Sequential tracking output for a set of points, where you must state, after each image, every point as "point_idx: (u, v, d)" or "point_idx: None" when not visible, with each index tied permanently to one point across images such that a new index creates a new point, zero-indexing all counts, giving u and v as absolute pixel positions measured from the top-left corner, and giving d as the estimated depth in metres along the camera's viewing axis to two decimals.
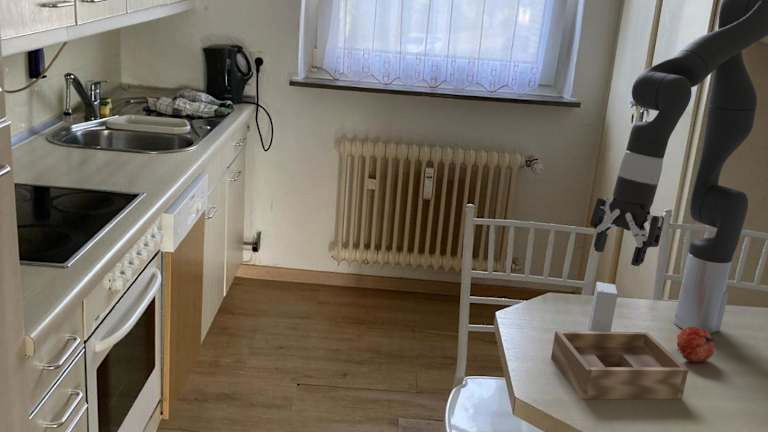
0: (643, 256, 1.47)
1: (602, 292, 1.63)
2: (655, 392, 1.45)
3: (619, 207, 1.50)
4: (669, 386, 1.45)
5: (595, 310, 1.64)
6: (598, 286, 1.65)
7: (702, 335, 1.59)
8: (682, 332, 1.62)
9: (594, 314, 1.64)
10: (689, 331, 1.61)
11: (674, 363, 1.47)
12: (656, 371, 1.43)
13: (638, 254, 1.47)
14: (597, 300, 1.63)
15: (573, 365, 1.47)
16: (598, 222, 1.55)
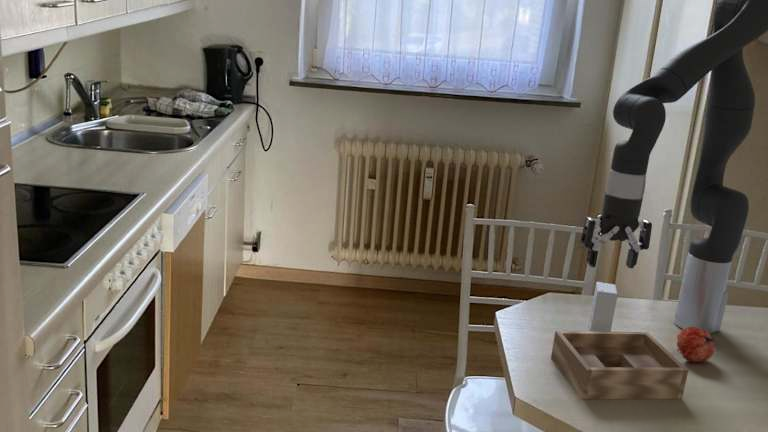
0: None
1: (602, 292, 1.63)
2: (655, 392, 1.45)
3: (614, 223, 1.59)
4: (669, 386, 1.45)
5: (595, 310, 1.64)
6: (598, 286, 1.65)
7: (702, 335, 1.59)
8: (682, 332, 1.62)
9: (594, 314, 1.64)
10: (689, 331, 1.61)
11: (674, 363, 1.47)
12: (656, 371, 1.43)
13: (635, 257, 1.63)
14: (597, 300, 1.63)
15: (573, 365, 1.47)
16: None
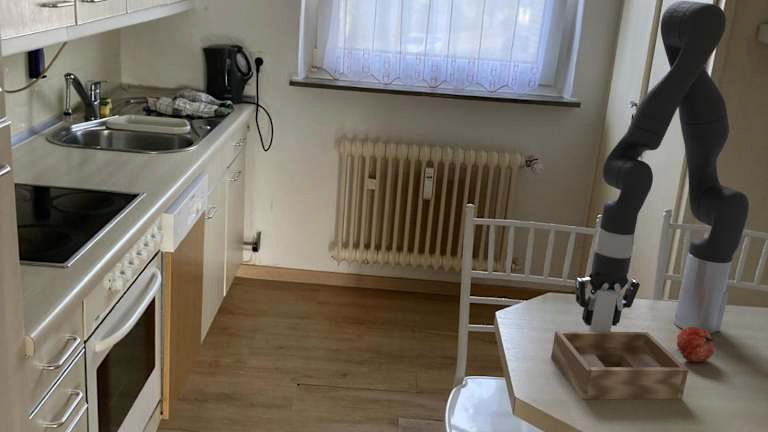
0: None
1: (601, 292, 1.63)
2: (655, 392, 1.45)
3: (603, 280, 1.63)
4: (669, 386, 1.45)
5: (595, 310, 1.64)
6: None
7: (702, 335, 1.59)
8: (682, 332, 1.62)
9: (594, 314, 1.64)
10: (689, 331, 1.61)
11: (674, 363, 1.47)
12: (656, 371, 1.43)
13: (618, 315, 1.67)
14: (597, 300, 1.63)
15: (573, 365, 1.47)
16: None
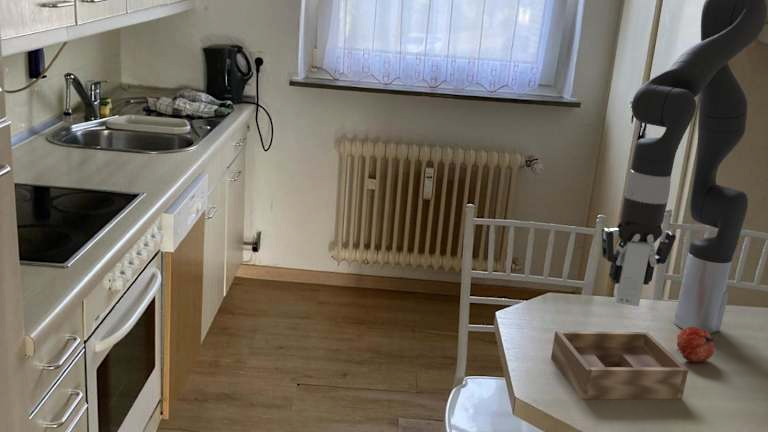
0: None
1: (632, 244, 1.42)
2: (655, 392, 1.45)
3: (634, 231, 1.42)
4: (669, 386, 1.45)
5: (624, 265, 1.43)
6: None
7: (702, 335, 1.59)
8: (682, 332, 1.62)
9: (623, 270, 1.43)
10: (689, 331, 1.61)
11: (674, 363, 1.47)
12: (656, 371, 1.43)
13: (650, 273, 1.46)
14: (627, 253, 1.42)
15: (573, 365, 1.47)
16: None
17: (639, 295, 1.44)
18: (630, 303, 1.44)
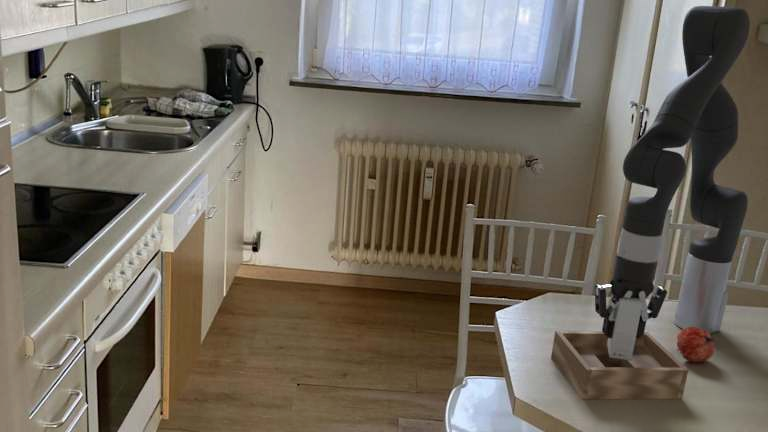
0: None
1: (624, 301, 1.44)
2: (655, 392, 1.45)
3: (626, 287, 1.45)
4: (669, 386, 1.45)
5: (617, 321, 1.46)
6: None
7: (702, 335, 1.59)
8: (682, 332, 1.62)
9: (616, 325, 1.46)
10: (689, 331, 1.61)
11: (674, 363, 1.47)
12: (656, 371, 1.43)
13: (642, 327, 1.48)
14: (619, 310, 1.45)
15: (573, 365, 1.47)
16: None
17: (632, 350, 1.47)
18: (623, 357, 1.47)
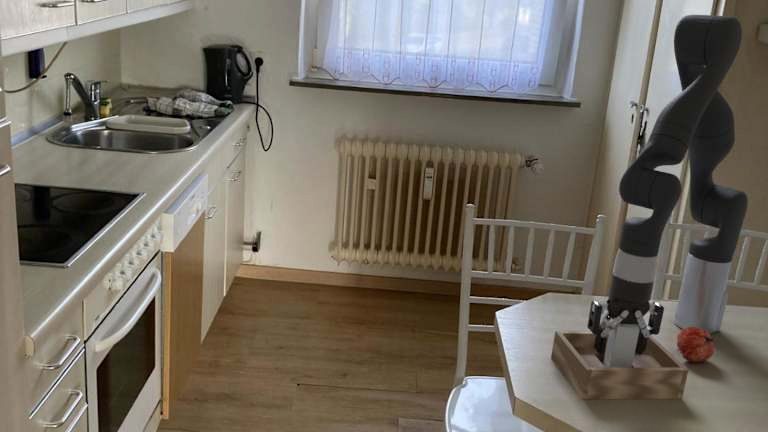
0: None
1: (622, 328, 1.46)
2: (655, 392, 1.45)
3: (622, 307, 1.46)
4: (669, 386, 1.45)
5: (614, 347, 1.47)
6: None
7: (702, 335, 1.59)
8: (682, 332, 1.62)
9: (613, 352, 1.47)
10: (689, 331, 1.61)
11: (674, 363, 1.47)
12: (656, 371, 1.43)
13: (644, 343, 1.50)
14: (617, 336, 1.46)
15: (573, 365, 1.47)
16: None
17: None
18: None
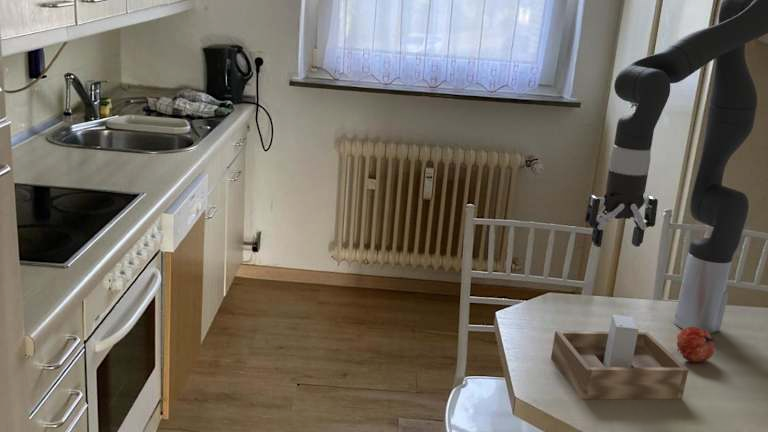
0: None
1: (621, 328, 1.46)
2: (655, 392, 1.45)
3: (618, 201, 1.55)
4: (669, 386, 1.45)
5: (614, 347, 1.47)
6: (616, 320, 1.49)
7: (702, 335, 1.59)
8: (682, 332, 1.62)
9: (612, 352, 1.47)
10: (689, 331, 1.61)
11: (674, 363, 1.47)
12: (656, 371, 1.43)
13: (641, 235, 1.59)
14: (616, 336, 1.46)
15: (573, 365, 1.47)
16: None
17: None
18: None
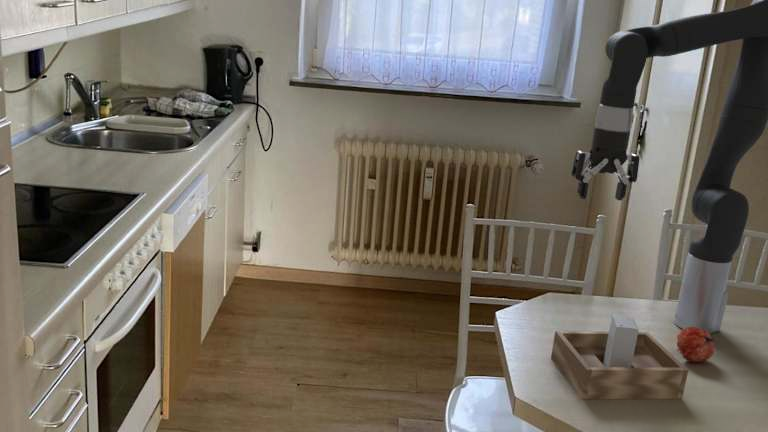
0: None
1: (621, 328, 1.46)
2: (655, 392, 1.45)
3: (603, 156, 1.68)
4: (669, 386, 1.45)
5: (614, 347, 1.47)
6: (616, 320, 1.49)
7: (702, 335, 1.59)
8: (682, 332, 1.62)
9: (612, 352, 1.47)
10: (689, 331, 1.61)
11: (674, 363, 1.47)
12: (656, 371, 1.43)
13: (623, 190, 1.71)
14: (616, 336, 1.46)
15: (573, 365, 1.47)
16: None
17: None
18: None
